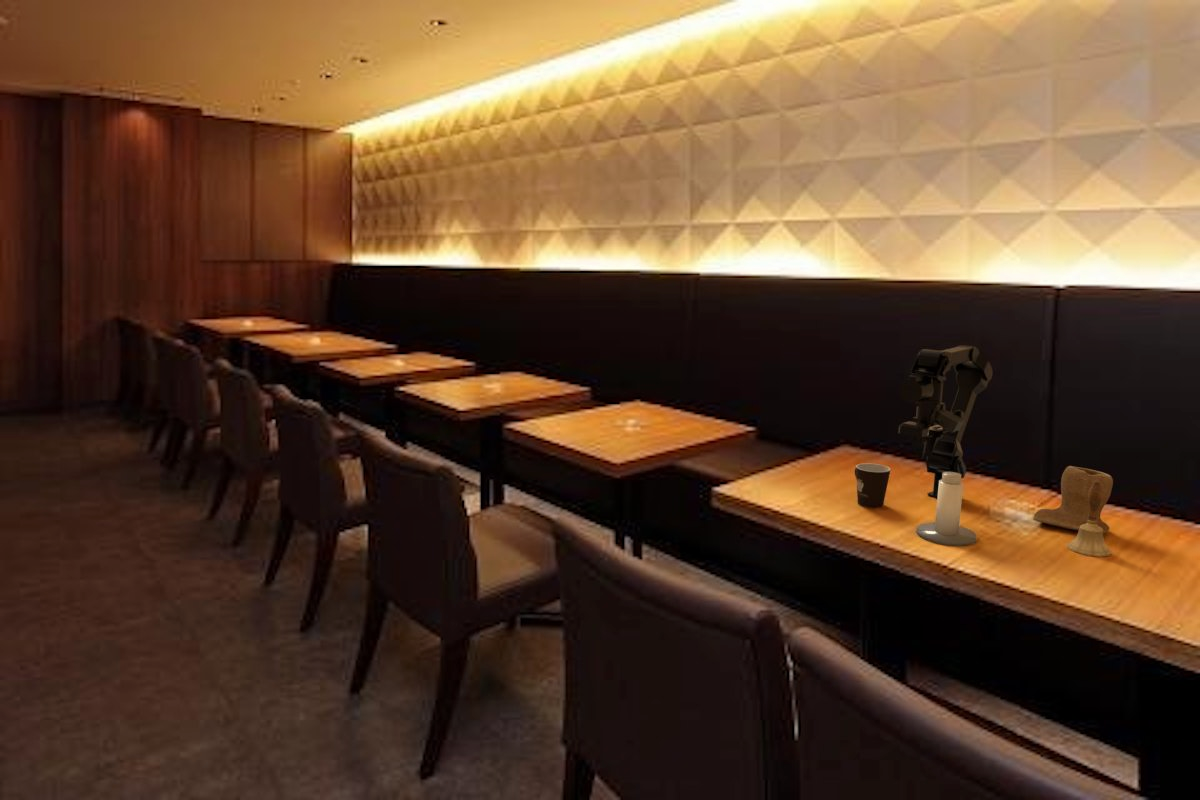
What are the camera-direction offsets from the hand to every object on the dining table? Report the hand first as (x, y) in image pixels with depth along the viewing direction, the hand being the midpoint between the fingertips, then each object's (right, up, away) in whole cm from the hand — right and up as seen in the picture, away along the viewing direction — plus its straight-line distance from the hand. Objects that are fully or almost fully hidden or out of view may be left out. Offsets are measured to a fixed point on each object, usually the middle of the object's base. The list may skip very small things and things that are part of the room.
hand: (924, 457), depth 204 cm
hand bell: (+25, -19, -28) cm, 42 cm away
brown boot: (+31, -16, -13) cm, 37 cm away
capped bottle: (-3, -16, -20) cm, 26 cm away
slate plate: (-3, -17, -20) cm, 26 cm away
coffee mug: (-13, -12, +5) cm, 18 cm away
